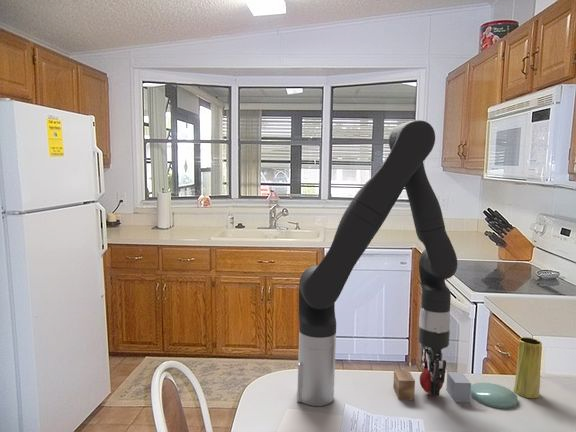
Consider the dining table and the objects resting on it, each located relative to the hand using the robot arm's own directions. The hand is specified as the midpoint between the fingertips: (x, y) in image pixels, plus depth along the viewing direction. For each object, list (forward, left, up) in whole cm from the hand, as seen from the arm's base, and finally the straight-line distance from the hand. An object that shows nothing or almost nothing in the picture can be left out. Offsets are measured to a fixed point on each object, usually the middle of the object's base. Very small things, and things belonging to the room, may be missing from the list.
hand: (430, 388), depth 113 cm
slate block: (+7, 0, -2) cm, 7 cm away
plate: (+16, 0, -2) cm, 16 cm away
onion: (0, 0, -2) cm, 2 cm away
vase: (+26, +3, -2) cm, 26 cm away
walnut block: (-7, 0, -2) cm, 7 cm away
